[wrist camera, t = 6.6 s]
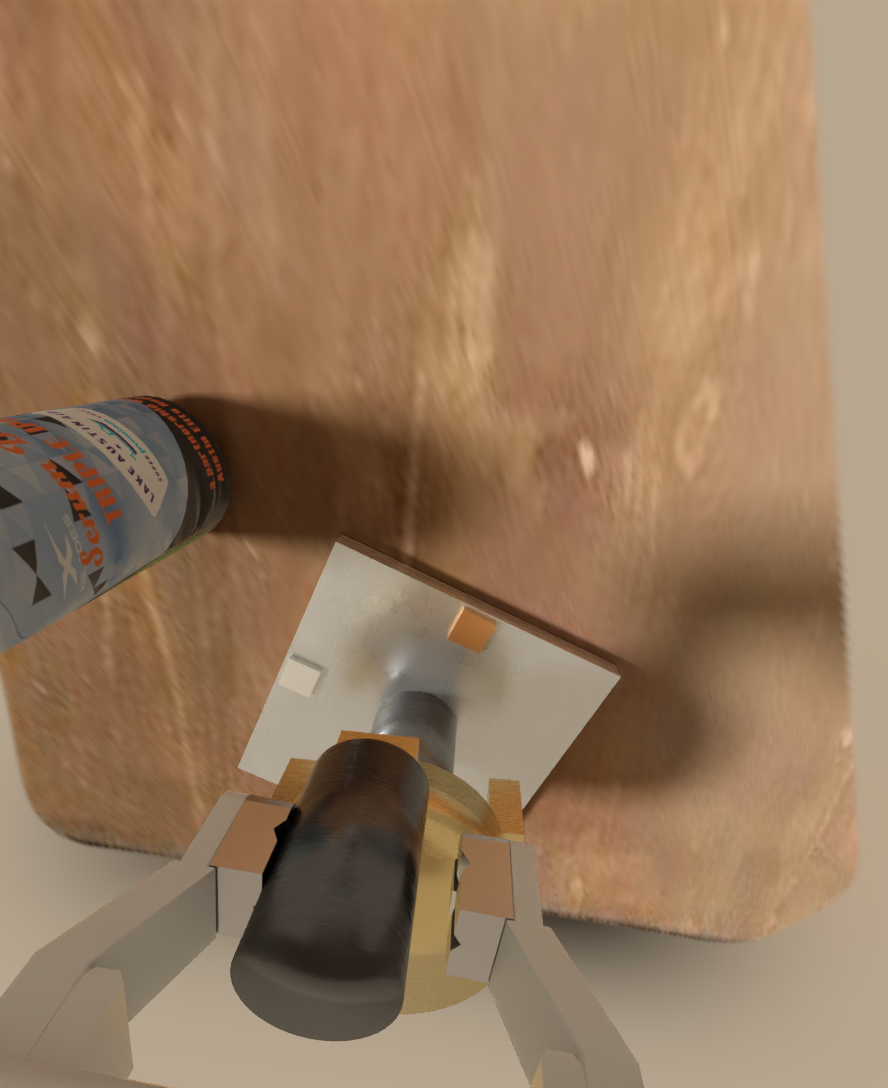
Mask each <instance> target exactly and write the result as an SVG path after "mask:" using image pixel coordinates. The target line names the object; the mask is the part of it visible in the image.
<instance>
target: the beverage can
mask: <svg viewBox="0 0 888 1088" xmlns="http://www.w3.org/2000/svg"><path fill="white" fill-rule="evenodd" d="M229 498H230V479H229V473H228V469H227V465H226V462H225V459H224V457H223V455H222V452H221V450H220V448H219V446H218V445H217V443H216V441H215V439H214V438H213V437H212V435H211V434H210V433H209V431H208V430H207V429H206V427H205V426H204V425H203V424H202V423H201V422H200V421H199V420H198V419H197V418H196V417H194V416H193V415H192V414H190V413H189V412H188V411H186V410H185V409H184V408H182V407H180V406H178V405H176V404H175V403H173V402H170V401H167V400H165V399H162V398H159V397H152V396H134V397H128V398H122V399H116V400H110V401H103V402H97V403H91V404H85V405H78V406H72V407H66V408H60V409H54V410H47V411H41V412H35V413H29V414H23V415H16V416H10V417H4V418H0V654H1V653H3V652H5V651H6V650H8V649H10V648H11V647H13V646H15V645H17V644H18V643H20V642H22V641H23V640H25V639H27V638H29V637H30V636H32V635H34V634H35V633H37V632H39V631H41V630H42V629H44V628H46V627H47V626H49V625H51V624H53V623H54V622H56V621H58V620H59V619H61V618H63V617H65V616H66V615H68V614H70V613H71V612H73V611H75V610H77V609H78V608H80V607H82V606H83V605H85V604H87V603H89V602H90V601H92V600H94V599H95V598H97V597H99V596H100V595H102V594H104V593H106V592H107V591H109V590H111V589H112V588H114V587H116V586H118V585H119V584H121V583H123V582H124V581H126V580H128V579H130V578H131V577H133V576H135V575H136V574H138V573H140V572H142V571H143V570H145V569H147V568H148V567H150V566H152V565H154V564H155V563H157V562H159V561H160V560H162V559H164V558H166V557H167V556H169V555H171V554H172V553H174V552H176V551H178V550H179V549H181V548H183V547H184V546H186V545H188V544H190V543H191V542H193V541H195V540H196V539H198V538H200V537H202V536H203V535H205V534H207V533H208V532H210V531H211V530H212V529H214V528H215V527H216V526H217V525H218V523H219V522H220V521H221V520H222V518H223V516H224V514H225V512H226V510H227V507H228V503H229Z"/></svg>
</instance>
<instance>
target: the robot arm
mask: <svg viewBox="0 0 888 1088" xmlns="http://www.w3.org/2000/svg"><path fill="white" fill-rule="evenodd" d="M296 808H297V804H294V803H289V802H284V801H280V800H275V799H270V798H265V797H260V796H255V795H250V794H244V793H239V792H234V791H229V790H227V791H226V792H225V793H223V794H222V795H221V796H220V798H219V799H218V801H217V803H216V804H215V806H214V807H213V809H212V811H211V812H210V814H209V816H208V817H207V819H206V820H205V822H204V824H203V825H202V827H201V828H200V830H199V832H198V833H197V835H196V837H195V838H194V840H193V841H192V843H191V845H190V846H189V848H188V850H187V851H186V853H185V854H184V856H183V858H182V859H181V861H175V860H173V861H171V862H170V863H168V864H167V865H165V866H164V867H162V868H161V869H159V870H158V871H156V872H155V873H153V874H152V875H150V876H149V877H147V878H146V879H144V880H143V881H141V882H140V883H138V884H137V885H135V886H134V887H133V888H131V889H129V890H128V891H126V892H125V893H123V894H122V895H120V896H119V897H117V898H116V899H114V900H113V901H111V902H110V903H108V904H107V905H105V906H104V907H102V908H101V909H99V910H98V911H96V912H95V913H93V914H92V915H90V916H89V917H87V918H86V919H84V920H83V921H81V922H80V923H78V924H77V925H75V926H74V927H72V928H71V929H69V930H68V931H66V932H65V933H63V934H62V935H60V936H59V937H57V938H56V939H54V940H53V941H51V942H50V943H48V944H47V945H45V946H44V947H42V948H41V949H39V950H38V951H36V952H35V953H34V955H33V956H32V957H31V959H30V960H29V961H28V963H27V964H26V965H25V966H24V968H23V969H22V970H21V972H20V973H19V974H18V976H17V977H16V978H15V979H14V981H13V982H12V983H11V985H10V986H9V987H8V989H7V990H6V991H5V992H4V994H3V995H2V996H1V997H0V1088H173V1087H168V1086H162V1085H157V1084H152V1083H146V1082H141V1081H135V1080H130V1079H128V1077H129V1075H130V1073H131V1071H132V1069H133V1062H132V1054H131V1045H130V1035H129V1027H128V1022H129V1021H130V1020H131V1019H132V1018H133V1017H134V1016H135V1015H137V1014H138V1013H139V1012H140V1011H141V1010H142V1009H143V1008H144V1007H145V1006H146V1005H147V1004H148V1003H149V1002H150V1001H151V1000H152V999H153V998H154V997H155V996H156V995H157V994H158V993H159V992H160V991H161V990H162V989H163V988H164V987H165V986H166V985H167V984H168V983H170V982H171V981H172V980H173V979H174V978H175V977H176V976H177V975H178V974H179V973H180V972H181V971H182V970H183V969H184V968H185V967H186V966H187V965H188V964H189V963H190V962H191V961H192V960H193V959H194V958H196V957H197V956H198V954H200V953H201V952H202V951H203V950H204V949H205V948H206V947H207V946H208V945H209V944H210V943H211V942H212V941H213V940H214V939H215V938H216V934H219V935H226V936H233V937H240V938H242V936H243V933H244V931H245V929H246V926H247V924H248V922H249V919H250V917H251V915H252V912H253V910H254V907H255V905H256V903H257V900H258V898H259V896H260V893H261V891H262V889H263V886H264V884H265V882H266V879H267V877H268V875H269V872H270V870H271V867H272V865H273V863H274V860H275V858H276V856H277V853H278V851H279V848H280V846H281V844H282V841H283V839H284V837H285V834H286V832H287V830H288V827H289V825H290V823H291V820H292V818H293V815H294V813H295V811H296ZM449 914H450V915H451V920H450V925H449V930H448V934H447V949H446V968H445V974H447V975H452V976H457V977H461V978H466V979H471V980H475V981H480V982H485V983H489V984H488V987H489V989H490V992H491V994H492V997H493V999H494V1001H495V1004H496V1006H497V1008H498V1011H499V1013H500V1016H501V1018H502V1020H503V1023H504V1025H505V1027H506V1030H507V1032H508V1034H509V1037H510V1039H511V1042H512V1044H513V1046H514V1049H515V1051H516V1053H517V1056H518V1058H519V1060H520V1063H521V1065H522V1067H523V1070H524V1072H525V1075H526V1077H527V1079H528V1082H529V1084H530V1088H644V1086H643V1081H642V1076H641V1072H640V1068H639V1064H638V1062H637V1060H636V1059H635V1057H634V1056H633V1054H632V1053H631V1051H630V1050H629V1048H628V1047H627V1045H626V1044H625V1042H624V1040H623V1039H622V1037H621V1036H620V1034H619V1033H618V1031H617V1030H616V1028H615V1027H614V1025H613V1023H612V1022H611V1020H610V1019H609V1017H608V1016H607V1014H606V1013H605V1011H604V1009H603V1008H602V1006H601V1005H600V1003H599V1002H598V1000H597V999H596V997H595V996H594V994H593V993H592V991H591V990H590V988H589V986H588V985H587V983H586V982H585V980H584V979H583V977H582V975H581V974H580V972H579V971H578V969H577V968H576V966H575V965H574V963H573V962H572V960H571V958H570V957H569V955H568V954H567V952H566V951H565V949H564V948H563V946H562V945H561V943H560V942H559V940H558V939H557V937H556V935H555V934H554V932H553V931H552V929H551V928H550V927H545V926H543V921H542V912H541V903H540V894H539V886H538V877H537V868H536V859H535V851H534V847H533V845H532V844H529V843H523V842H517V841H512V840H507V839H503V838H496V837H490V836H484V835H478V834H471V833H465V832H462V833H461V836H460V840H459V844H458V858H457V859H456V860H455V863H454V868H453V874H452V881H451V888H450V900H449Z"/></svg>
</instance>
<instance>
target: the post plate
mask: <svg viewBox="0 0 888 1088" xmlns="http://www.w3.org/2000/svg"><path fill="white" fill-rule="evenodd" d="M620 678H621V676H620V674H619V672H618V669H617V667H616V665H615V664H613V663H611V662H609V661H607V660H605V659H603V658H601V657H598V656H596V655H594V654H592V653H590V652H588V651H586V650H584V649H582V648H580V647H578V646H575V645H573V644H571V643H569V642H567V641H565V640H563V639H561V638H559V637H557V636H554V635H552V634H550V633H548V632H546V631H544V630H542V629H540V628H538V627H536V626H534V625H531V624H529V623H527V622H525V621H523V620H521V619H519V618H517V617H515V616H513V615H510V614H508V613H506V612H504V611H502V610H500V609H498V608H496V607H494V606H492V605H489V604H487V603H485V602H483V601H481V600H479V599H477V598H475V597H473V596H471V595H469V594H466V593H464V592H462V591H460V590H458V589H456V588H454V587H452V586H450V585H448V584H445V583H443V582H441V581H439V580H437V579H435V578H433V577H431V576H429V575H427V574H424V573H422V572H420V571H418V570H416V569H414V568H412V567H410V566H408V565H406V564H404V563H401V562H399V561H397V560H395V559H393V558H391V557H389V556H387V555H385V554H383V553H380V552H378V551H376V550H374V549H372V548H370V547H368V546H366V545H364V544H362V543H359V542H357V541H355V540H353V539H351V538H349V537H347V536H345V535H343V534H342V535H341V536H340V537H339V538H338V540H337V541H336V542H335V545H334V547H333V549H332V552H331V554H330V556H329V558H328V561H327V563H326V565H325V568H324V570H323V572H322V575H321V577H320V579H319V582H318V584H317V586H316V588H315V591H314V593H313V595H312V598H311V600H310V602H309V605H308V607H307V609H306V611H305V614H304V616H303V618H302V621H301V623H300V625H299V628H298V630H297V632H296V634H295V637H294V639H293V641H292V644H291V646H290V648H289V651H288V653H287V655H286V658H285V660H284V662H283V664H282V667H281V669H280V671H279V674H278V676H277V678H276V681H275V683H274V685H273V687H272V690H271V692H270V694H269V697H268V699H267V701H266V704H265V706H264V708H263V710H262V713H261V715H260V717H259V720H258V722H257V724H256V727H255V729H254V731H253V734H252V736H251V738H250V740H249V743H248V745H247V747H246V750H245V752H244V754H243V757H242V759H241V761H240V763H239V766H238V768H240V769H242V770H244V771H247V772H249V773H251V774H254V775H256V776H258V777H261V778H263V779H265V780H268V781H270V782H273V783H275V784H277V785H278V783H279V781H280V779H281V777H282V775H283V773H284V771H285V769H286V767H287V765H288V763H289V761H290V759H291V758H298V759H308V760H318V758H319V757H320V756H321V755H322V754H323V753H324V752H325V751H326V750H327V749H329V748H330V747H332V746H333V745H335V744H337V741H338V738H339V736H340V733H341V731H342V730H345V731H355V732H365V733H375V734H385V735H396V736H406V737H416V738H419V754H418V760H419V761H423V762H427V763H430V764H432V765H435V766H438V767H440V768H442V769H444V770H446V771H448V772H450V773H452V774H454V775H456V776H457V777H459V778H460V779H462V780H464V781H465V782H467V783H468V784H469V785H470V786H471V787H473V788H474V789H475V790H476V791H477V792H478V793H479V794H480V795H481V796H482V797H483V798H484V799H485V800H486V801H487V792H488V783H489V778H495V779H505V780H515V781H519V782H520V792H521V803H522V810H523V808H524V807H525V806H526V804H527V803H528V802H529V800H530V799H531V797H532V796H533V795H534V793H535V792H536V791H537V789H538V788H539V787H540V785H541V784H542V783H543V781H544V780H545V779H546V777H547V776H548V775H549V773H550V772H551V771H552V769H553V768H554V767H555V765H556V764H557V762H558V761H559V760H560V758H561V757H562V756H563V754H564V753H565V752H566V750H567V749H568V748H569V746H570V745H571V744H572V742H573V741H574V740H575V738H576V737H577V736H578V734H579V733H580V732H581V730H582V729H583V727H584V726H585V725H586V723H587V722H588V721H589V719H590V718H591V717H592V715H593V714H594V713H595V711H596V710H597V709H598V707H599V706H600V705H601V703H602V702H603V701H604V699H605V698H606V697H607V695H608V694H609V692H610V691H611V690H612V688H613V687H614V686H615V684H616V683H617V682H618V680H619V679H620Z"/></svg>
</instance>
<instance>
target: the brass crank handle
mask: <svg viewBox="0 0 888 1088" xmlns="http://www.w3.org/2000/svg"><path fill="white" fill-rule="evenodd" d="M418 754H419V738H416V737H406V736H396V735H385V734H375V733H365V732H355V731H345V730H342V731H341V733H340V736H339V738H338V741H337V744H335V745H333V746H332V747H330V748H329V749H327V750H326V751H325V752H324V753H323V754H322V755H321V756H320V757H319V758H318V760H308V759H298V758H291V759H290V761H289V763H288V765H287V767H286V769H285V771H284V773H283V775H282V777H281V779H280V781H279V783H278V785H277V787H276V789H275V792H274V794H273V796H272V798H271V799H275V800H280V801H284V802H289V803H294V804H297V808H296V811H295V813H294V815H293V818H292V820H291V823H290V825H289V827H288V830H287V832H286V834H285V837H284V839H283V841H282V844H281V846H280V848H279V851H278V853H277V856H276V858H275V860H274V863H273V865H272V867H271V870H270V872H269V875H268V877H267V879H266V882H265V884H264V886H263V889H262V891H261V893H260V896H259V898H258V900H257V903H256V905H255V907H254V910H253V912H252V915H251V917H250V919H249V922H248V924H247V926H246V929H245V931H244V933H243V936H242V938H241V941H240V943H239V946H238V948H237V950H236V952H235V955H234V957H233V960H232V962H231V968H230V974H231V980H232V984H233V987H234V989H235V991H236V993H237V995H238V996H239V998H240V999H241V1000H242V1002H243V1003H244V1004H245V1005H246V1006H247V1007H248V1008H249V1009H250V1010H251V1011H252V1012H253V1013H254V1014H256V1015H257V1016H258V1017H259V1018H261V1019H263V1020H264V1021H266V1022H267V1023H269V1024H271V1025H273V1026H275V1027H277V1028H279V1029H281V1030H284V1031H286V1032H288V1033H291V1034H294V1035H297V1036H302V1037H305V1038H309V1039H315V1040H323V1041H348V1040H355V1039H361V1038H364V1037H368V1036H371V1035H373V1034H376V1033H378V1032H380V1031H382V1030H383V1029H385V1028H386V1027H387V1026H389V1025H390V1024H391V1023H392V1022H393V1021H394V1020H395V1019H396V1018H397V1016H398V1015H399V1014H414V1013H424V1012H430V1011H435V1010H439V1009H443V1008H446V1007H449V1006H452V1005H455V1004H457V1003H460V1002H462V1001H464V1000H466V999H468V998H469V997H471V996H473V995H475V994H476V993H478V992H479V991H480V990H482V989H483V988H484V987H485V986H486V985H487V984H488V983H485V982H480V981H475V980H471V979H466V978H461V977H457V976H452V975H447V974H445V968H446V949H447V934H448V930H449V925H450V920H451V915H450V914H449V900H450V888H451V881H452V874H453V868H454V863H455V860H456V859H457V858H458V844H459V840H460V836H461V833H462V832H465V833H471V834H478V835H484V836H490V837H496V838H503V839H507V840H512V841H517V842H523V841H524V825H523V814H522V803H521V792H520V782H519V781H515V780H505V779H495V778H489V783H488V792H487V801H486V800H485V799H484V798H483V797H482V796H481V795H480V794H479V793H478V792H477V791H476V790H475V789H474V788H473V787H471V786H470V785H469V784H468V783H467V782H465V781H464V780H462V779H460V778H459V777H457V776H456V775H454V774H452V773H450V772H448V771H446V770H444V769H442V768H440V767H438V766H435V765H432V764H430V763H427V762H423V761H419V760H418Z"/></svg>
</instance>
